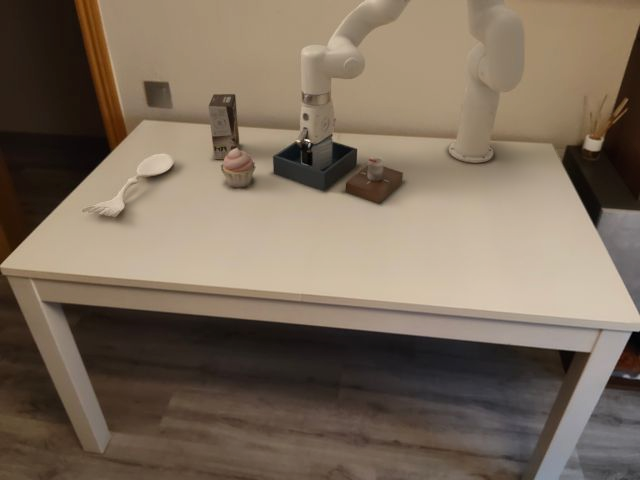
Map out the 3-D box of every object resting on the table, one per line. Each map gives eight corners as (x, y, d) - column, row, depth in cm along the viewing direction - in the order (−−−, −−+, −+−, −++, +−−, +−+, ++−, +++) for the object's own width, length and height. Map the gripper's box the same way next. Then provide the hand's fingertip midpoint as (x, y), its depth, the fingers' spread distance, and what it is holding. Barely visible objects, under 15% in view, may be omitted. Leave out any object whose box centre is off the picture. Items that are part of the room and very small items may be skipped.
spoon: (83, 220, 131) (80, 208, 129) (151, 159, 156) (149, 148, 154) (116, 226, 129) (113, 214, 127) (180, 163, 154) (178, 152, 152)
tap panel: (369, 171, 151) (370, 161, 149) (402, 182, 146) (403, 172, 145) (345, 192, 142) (345, 181, 140) (378, 204, 138) (379, 193, 136)
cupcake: (262, 186, 144) (260, 152, 138) (228, 194, 141) (224, 159, 135) (250, 170, 151) (247, 137, 145) (217, 177, 148) (213, 144, 142)
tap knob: (385, 176, 143) (386, 159, 140) (378, 182, 140) (379, 166, 137) (371, 171, 145) (372, 155, 142) (364, 178, 142) (365, 161, 139)
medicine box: (321, 160, 155) (321, 132, 150) (332, 165, 152) (332, 137, 147) (301, 170, 150) (300, 141, 145) (312, 176, 148) (311, 147, 143)
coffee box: (236, 160, 156) (231, 106, 146) (213, 159, 156) (207, 106, 146) (240, 145, 163) (236, 93, 153) (219, 145, 163) (213, 93, 153)
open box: (307, 150, 161) (307, 133, 158) (356, 166, 154) (357, 148, 150) (273, 173, 150) (272, 156, 146) (324, 191, 142) (324, 173, 139)
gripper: (309, 111, 131) (310, 174, 142) (346, 88, 143) (345, 148, 153) (284, 104, 135) (286, 166, 145) (322, 83, 146) (322, 141, 157)
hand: (316, 156), depth 149 cm, fingers closed on medicine box, 8 cm apart
